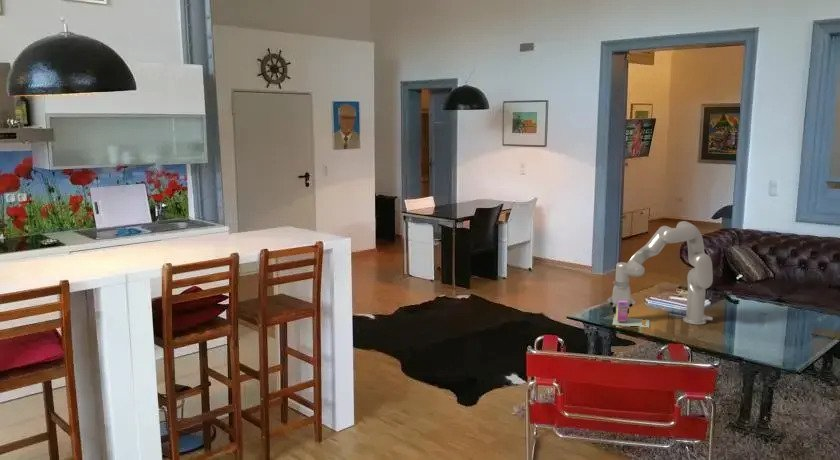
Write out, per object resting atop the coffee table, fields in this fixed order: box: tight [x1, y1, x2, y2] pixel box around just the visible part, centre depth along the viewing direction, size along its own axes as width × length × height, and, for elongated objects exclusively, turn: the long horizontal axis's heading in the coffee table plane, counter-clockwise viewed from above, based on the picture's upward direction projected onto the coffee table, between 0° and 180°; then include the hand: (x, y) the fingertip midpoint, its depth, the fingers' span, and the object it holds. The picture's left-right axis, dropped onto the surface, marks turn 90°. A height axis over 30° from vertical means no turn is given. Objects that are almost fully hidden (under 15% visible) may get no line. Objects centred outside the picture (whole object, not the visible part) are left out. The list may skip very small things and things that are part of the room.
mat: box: [612, 316, 650, 329], centre depth 389 cm, size 20×14×1 cm
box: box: [613, 300, 629, 322], centre depth 389 cm, size 10×6×12 cm, turn 174°
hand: (620, 313), depth 390 cm, fingers closed on box, 6 cm apart
